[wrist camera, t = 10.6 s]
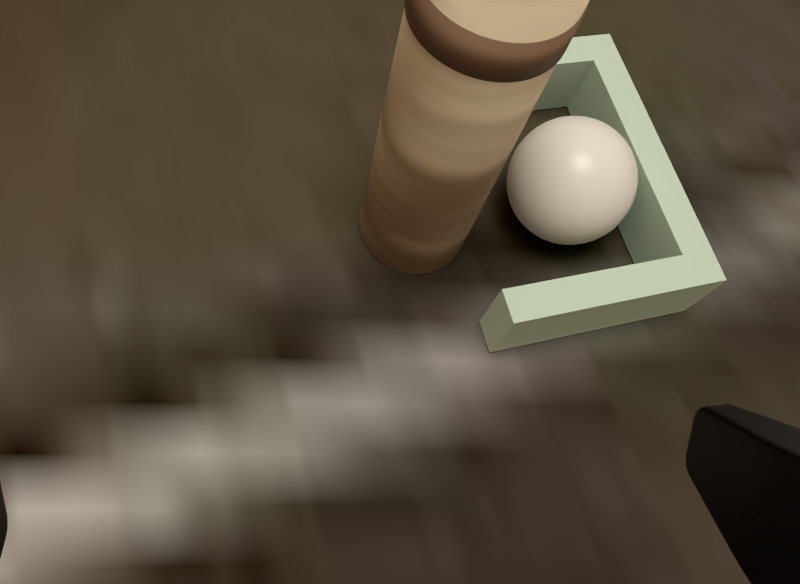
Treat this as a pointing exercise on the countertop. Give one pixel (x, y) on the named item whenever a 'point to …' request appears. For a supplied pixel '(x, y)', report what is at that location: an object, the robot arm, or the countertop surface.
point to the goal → (641, 228)
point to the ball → (572, 180)
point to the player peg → (455, 119)
